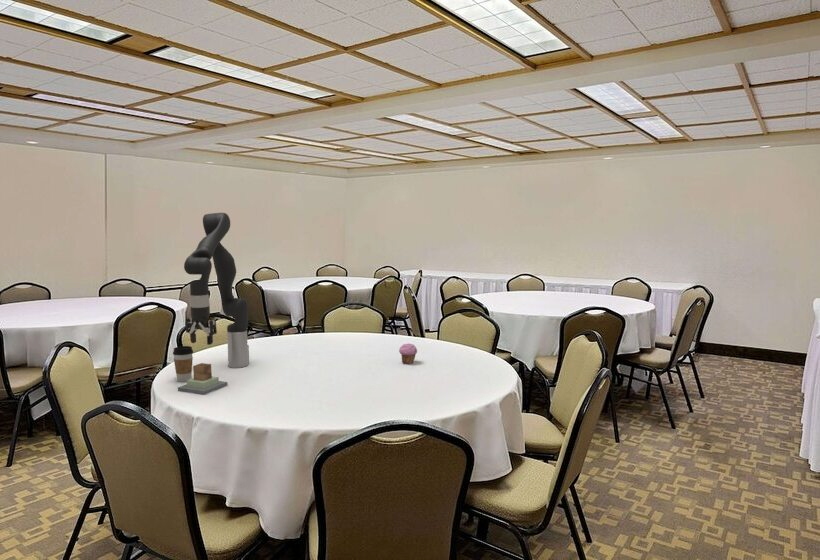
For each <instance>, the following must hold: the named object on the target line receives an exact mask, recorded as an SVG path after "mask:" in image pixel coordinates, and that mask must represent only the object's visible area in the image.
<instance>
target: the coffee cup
mask: <svg viewBox="0 0 820 560" xmlns="http://www.w3.org/2000/svg"><path fill="white" fill-rule="evenodd" d="M193 353H194V350H193V347H192V346H190V345H189V346H188V345H183V346H177V347H174V348H173V352H172V355H173V361H174V369H175V376H176V382H178V383H187V380H190V379H192V378H193V376H192V373H193V359H194V357H193Z"/></svg>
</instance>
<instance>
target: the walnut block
mask: <svg viewBox="0 0 820 560" xmlns="http://www.w3.org/2000/svg"><path fill="white" fill-rule="evenodd" d="M192 373H193V378H194V380H198V381H205V380H208V379H210V378H212V376H213V375H212V363H204V362H201V363H198V364H194V365H192Z"/></svg>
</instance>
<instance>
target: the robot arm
mask: <svg viewBox="0 0 820 560" xmlns="http://www.w3.org/2000/svg"><path fill="white" fill-rule="evenodd" d="M202 225H203V229H204V234H205V237H204V236H203V238H202V239H201V240H200V241H199V243H198V245H197V247H196V249H195V250H194V251H193V252H192V253H191V254H190V255H189V256H187V258H186V259H185V261H184V265H183V268H184V269H183V270H184V272H185V273H187V274H188V275H194V276H195V275H199V276H201V277H200V278H198V279H195V280H191V281H190V284H189V294H190V296H189V297H190V298H189V305H190V311H189V312H190V317H188V318H185V332H186V333H187V334H189V336H190V343H191V344H196V343H197V334H196V332H197V330H200V331H203V332H204V333H205V334H206V345H209V346H210V345H212V344H213V343H214V335H216V334H217V333H218V331H217V321H216V319H211V320H210V315H211V308H210V295H209V281H210V277H211V272H212V267H214V270H215V275H216V278H217V283H218V287H219V293H220V302H221V307H222V311H223V314H224V316H227V317H229V318H230V317H231V318H234V321H233V323H229V324H228V325H227V326H226V335H227V362H228V364H227V366H228V367H229V368H232V369H234V368H235V369H236V368H237V369H239V368H244V367H247V366H248V365H249V364H250V350H249V348H250V347H249V344H248V326H249V312H250V310H249V302H248V300H246V299H245V298H241V297H235V296H234V294H233V283H234V281H235V279H236V276H237V267H236V263H235V259H234V257H233V256H232V254H231V253H230V252H229V251H228V250H227V248H225V247H224V246H223V243H221V241H222V240H223V239H224V237H226V235H227V233H229V230H230V228H231V219H230V216H229V214H228V213H226V212H214V213H213V212H211V213H206V214H204V215H203V217H202ZM211 259H212V261H211ZM212 262H213V263H212ZM213 265H214V266H213Z"/></svg>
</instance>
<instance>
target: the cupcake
mask: <svg viewBox="0 0 820 560" xmlns="http://www.w3.org/2000/svg"><path fill="white" fill-rule="evenodd" d="M398 351H399V354H400V356H401V363H402V364H405V365H406V364H407V365H412V364H413V363H414V362H415V359H416V354H417V353H418V348H417V347H416V345H415V344H413V343H404V344H402V345H401V346H400V347H399V350H398Z"/></svg>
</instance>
